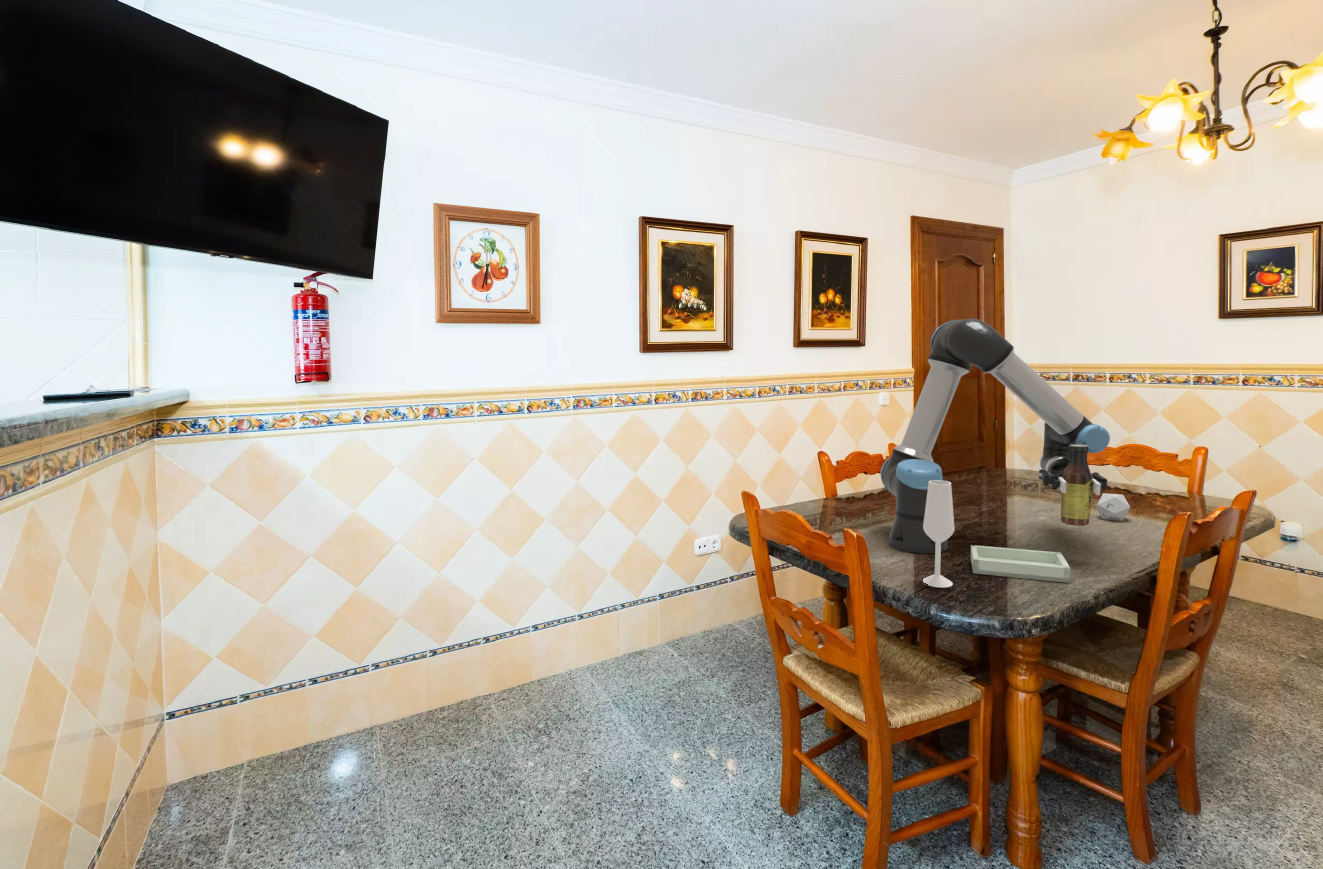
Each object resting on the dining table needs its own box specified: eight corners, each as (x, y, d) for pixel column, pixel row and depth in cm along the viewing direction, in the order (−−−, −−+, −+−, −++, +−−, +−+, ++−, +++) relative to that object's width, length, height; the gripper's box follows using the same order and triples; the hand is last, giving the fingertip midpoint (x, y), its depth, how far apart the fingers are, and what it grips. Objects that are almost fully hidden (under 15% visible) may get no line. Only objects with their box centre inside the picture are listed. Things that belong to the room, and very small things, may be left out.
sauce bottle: (1094, 527, 153) (1100, 447, 150) (1066, 526, 154) (1071, 447, 151) (1082, 520, 159) (1088, 443, 156) (1055, 519, 160) (1060, 443, 158)
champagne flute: (915, 579, 149) (917, 481, 145) (937, 575, 151) (940, 478, 148) (936, 589, 142) (939, 486, 139) (959, 584, 145) (962, 483, 142)
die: (1088, 517, 198) (1091, 498, 192) (1107, 502, 200) (1110, 482, 194) (1115, 531, 192) (1119, 512, 186) (1133, 516, 194) (1138, 495, 188)
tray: (972, 573, 152) (973, 559, 151) (970, 558, 162) (970, 545, 162) (1069, 583, 144) (1070, 568, 143) (1060, 566, 154) (1060, 552, 154)
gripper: (1104, 487, 168) (1128, 507, 147) (1022, 482, 176) (1034, 500, 155) (1106, 459, 167) (1131, 475, 146) (1024, 456, 175) (1036, 470, 154)
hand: (1081, 488), depth 151 cm, fingers closed on sauce bottle, 6 cm apart
